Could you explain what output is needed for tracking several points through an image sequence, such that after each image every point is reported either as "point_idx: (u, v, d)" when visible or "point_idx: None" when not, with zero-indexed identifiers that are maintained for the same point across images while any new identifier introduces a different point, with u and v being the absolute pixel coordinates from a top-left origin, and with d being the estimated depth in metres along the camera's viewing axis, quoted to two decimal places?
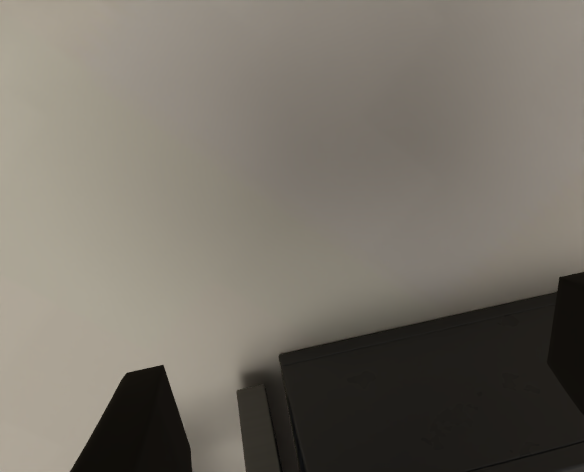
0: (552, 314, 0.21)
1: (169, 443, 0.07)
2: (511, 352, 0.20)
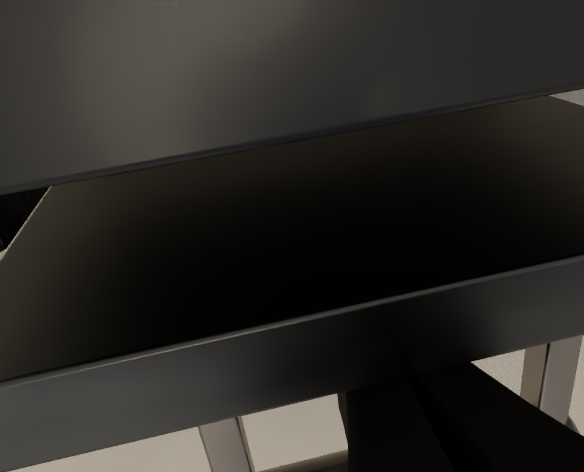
0: None
1: None
2: None
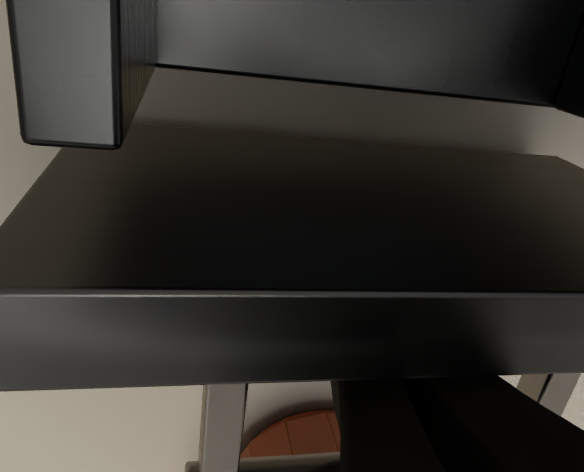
0: None
1: None
2: None
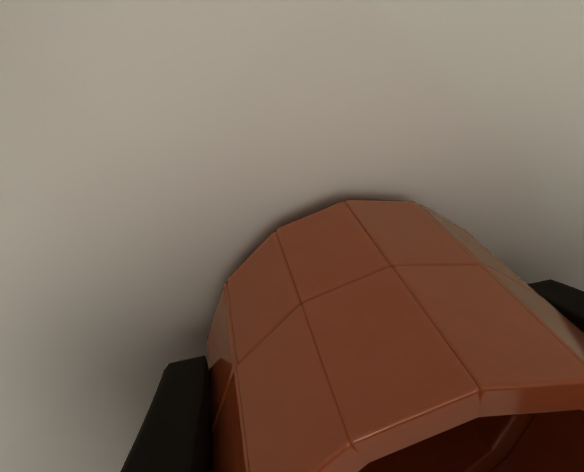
0: None
1: None
2: None
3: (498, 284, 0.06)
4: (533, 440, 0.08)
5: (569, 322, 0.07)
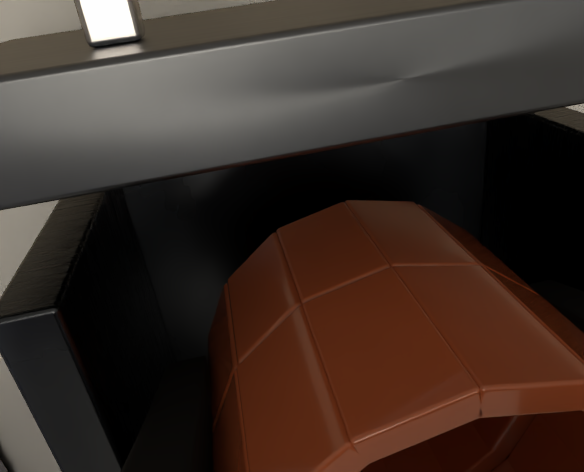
0: None
1: None
2: None
3: (499, 284, 0.06)
4: (534, 441, 0.08)
5: (570, 323, 0.06)
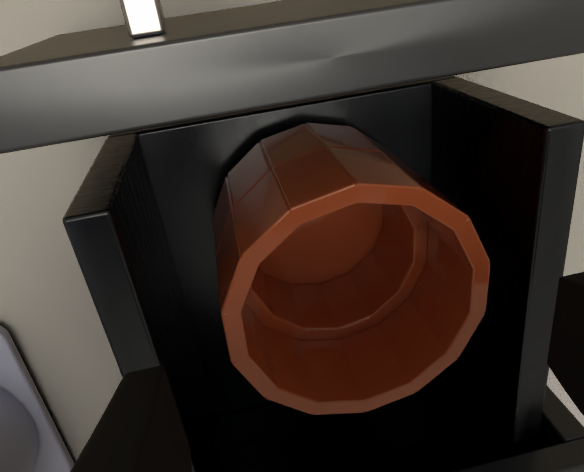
0: None
1: (169, 443, 0.07)
2: None
3: (386, 158, 0.11)
4: (423, 280, 0.13)
5: (431, 185, 0.11)
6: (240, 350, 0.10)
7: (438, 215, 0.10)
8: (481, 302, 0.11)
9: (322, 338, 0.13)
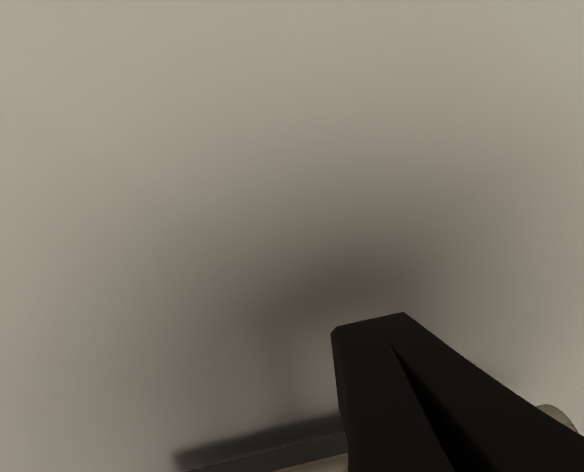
0: None
1: None
2: None
3: None
4: None
5: None
6: None
7: None
8: None
9: None
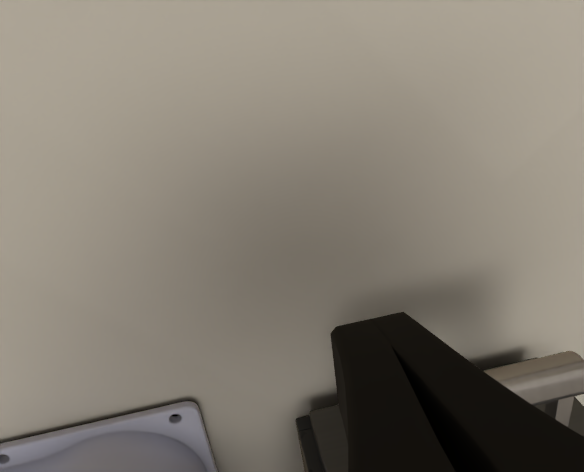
0: None
1: None
2: None
3: None
4: None
5: None
6: None
7: None
8: None
9: None
